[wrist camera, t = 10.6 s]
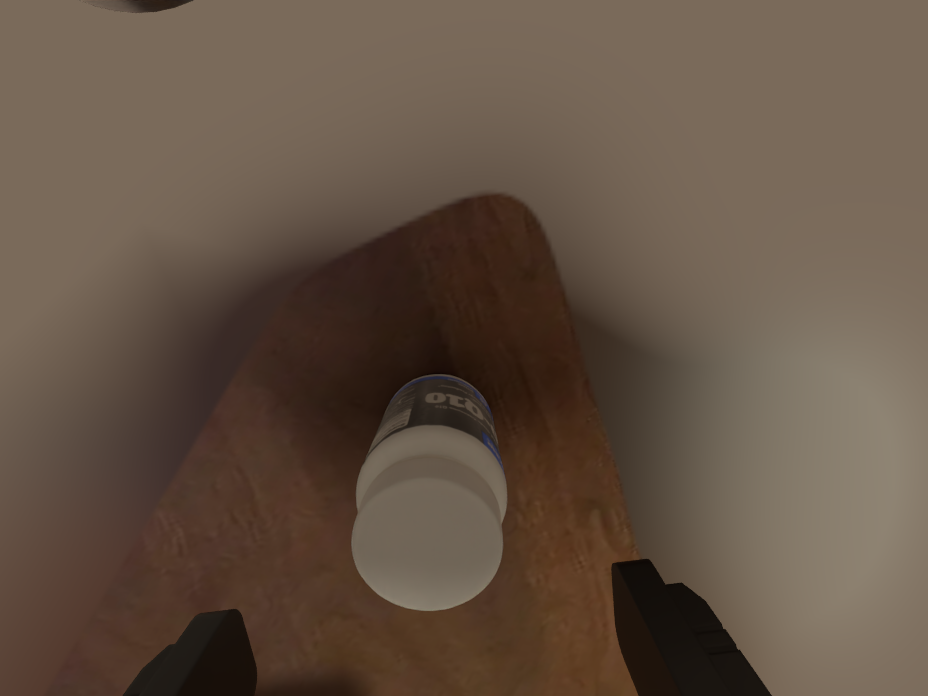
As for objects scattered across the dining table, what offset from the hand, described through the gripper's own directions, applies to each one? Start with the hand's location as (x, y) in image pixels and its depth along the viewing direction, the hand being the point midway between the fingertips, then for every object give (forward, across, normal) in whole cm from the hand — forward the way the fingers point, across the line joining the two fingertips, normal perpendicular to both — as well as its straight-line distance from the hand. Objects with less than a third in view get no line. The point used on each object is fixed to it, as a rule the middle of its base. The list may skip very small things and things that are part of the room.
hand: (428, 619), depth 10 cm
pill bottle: (+11, 0, 0) cm, 11 cm away
